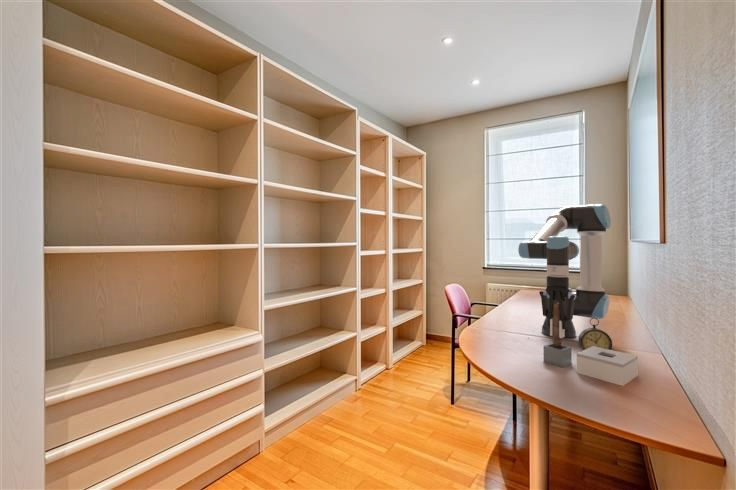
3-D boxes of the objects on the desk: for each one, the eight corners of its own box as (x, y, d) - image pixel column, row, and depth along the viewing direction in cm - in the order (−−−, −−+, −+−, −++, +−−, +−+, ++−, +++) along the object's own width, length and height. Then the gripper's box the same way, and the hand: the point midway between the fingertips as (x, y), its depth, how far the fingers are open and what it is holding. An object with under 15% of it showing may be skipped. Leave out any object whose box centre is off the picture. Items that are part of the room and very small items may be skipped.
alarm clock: (581, 358, 137) (581, 318, 137) (577, 354, 143) (577, 315, 142) (612, 361, 134) (613, 320, 134) (607, 356, 139) (607, 317, 139)
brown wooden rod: (555, 347, 135) (555, 302, 135) (562, 349, 133) (562, 303, 132) (551, 349, 133) (551, 303, 133) (559, 351, 131) (559, 304, 131)
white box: (592, 364, 131) (593, 346, 131) (637, 375, 120) (637, 355, 120) (576, 372, 123) (576, 353, 123) (622, 385, 112) (623, 364, 112)
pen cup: (552, 358, 138) (552, 342, 138) (571, 363, 132) (571, 347, 132) (543, 361, 134) (543, 345, 134) (562, 367, 128) (562, 350, 128)
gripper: (532, 275, 137) (532, 333, 137) (575, 278, 124) (574, 342, 124) (542, 273, 141) (541, 330, 142) (584, 277, 129) (583, 339, 129)
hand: (557, 336), depth 133 cm, fingers closed on brown wooden rod, 3 cm apart
